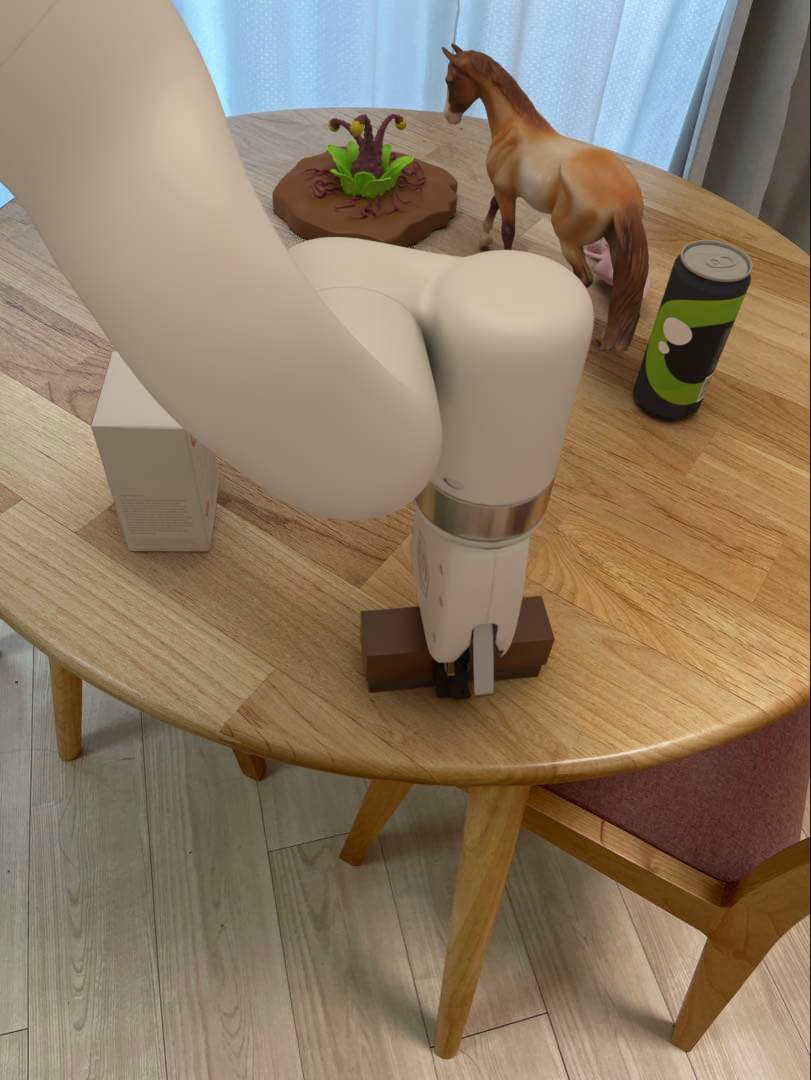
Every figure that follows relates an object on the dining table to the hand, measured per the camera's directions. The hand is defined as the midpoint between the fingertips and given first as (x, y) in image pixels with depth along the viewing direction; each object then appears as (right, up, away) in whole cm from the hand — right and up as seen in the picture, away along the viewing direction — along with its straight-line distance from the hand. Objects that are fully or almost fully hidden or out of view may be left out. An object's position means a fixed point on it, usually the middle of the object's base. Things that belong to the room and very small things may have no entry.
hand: (451, 659), depth 61 cm
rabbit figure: (+19, +36, +33) cm, 53 cm away
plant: (-8, +47, +40) cm, 62 cm away
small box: (-21, +10, +8) cm, 25 cm away
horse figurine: (+8, +32, +28) cm, 43 cm away
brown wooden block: (0, 0, 0) cm, 1 cm away
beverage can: (+21, +21, +20) cm, 36 cm away
